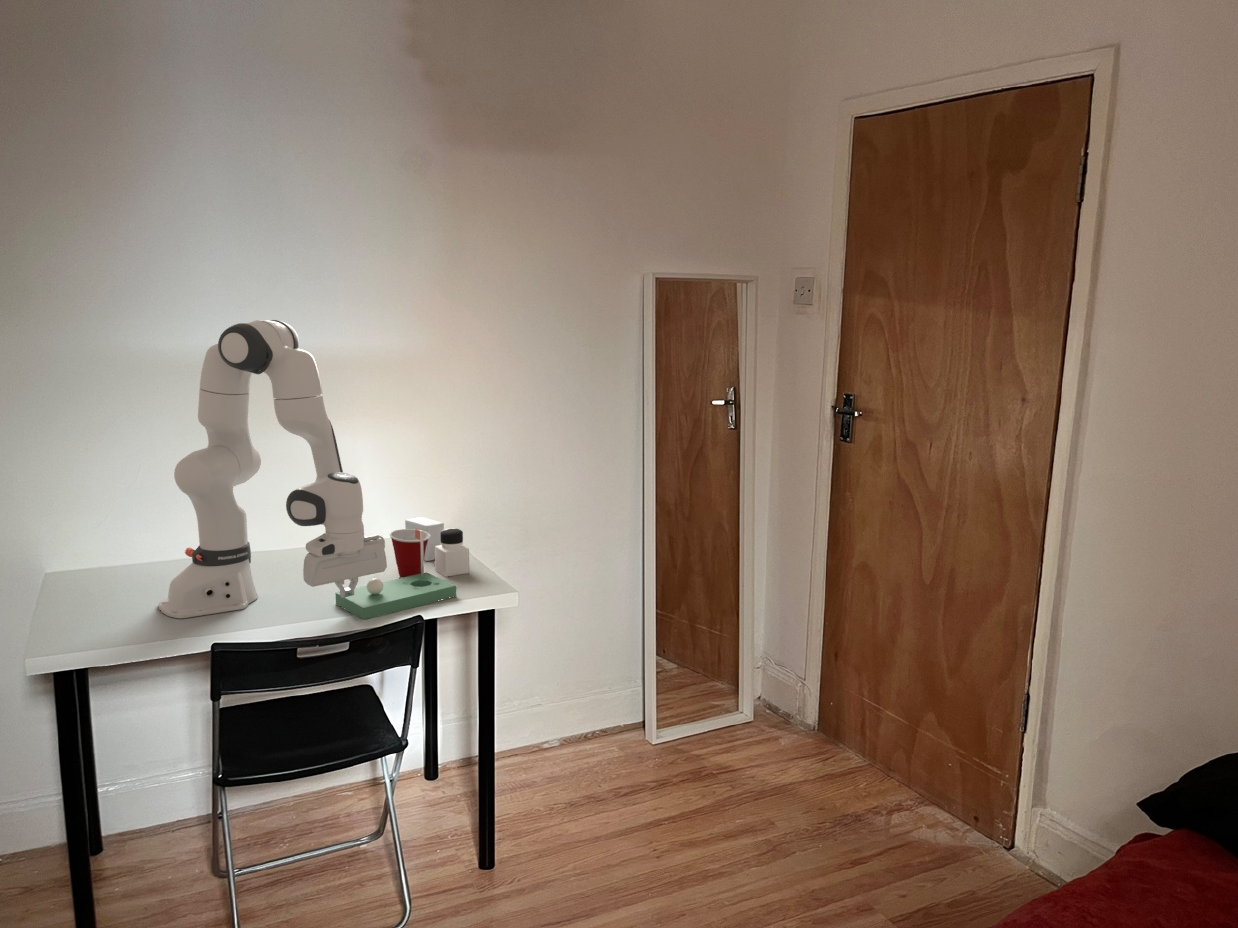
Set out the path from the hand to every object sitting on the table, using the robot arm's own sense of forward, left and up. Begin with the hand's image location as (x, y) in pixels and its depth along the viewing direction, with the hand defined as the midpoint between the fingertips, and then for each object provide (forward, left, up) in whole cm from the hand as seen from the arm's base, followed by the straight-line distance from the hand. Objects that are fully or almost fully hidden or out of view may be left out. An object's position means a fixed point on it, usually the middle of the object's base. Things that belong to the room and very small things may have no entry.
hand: (347, 596), depth 233 cm
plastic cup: (+26, +15, -4) cm, 31 cm away
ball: (+7, 0, +1) cm, 8 cm away
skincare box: (+39, +29, -4) cm, 49 cm away
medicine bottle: (+37, +11, -4) cm, 39 cm away
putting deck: (+13, 0, -4) cm, 14 cm away
